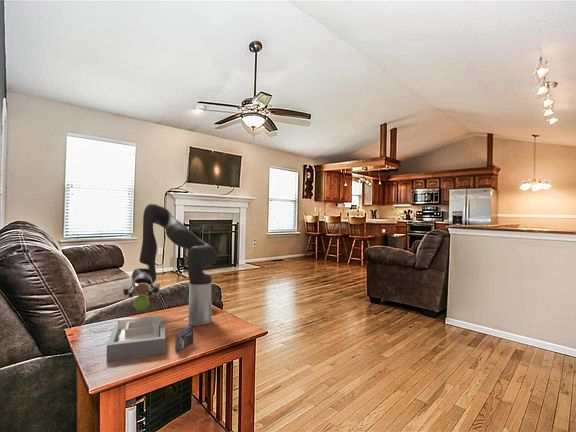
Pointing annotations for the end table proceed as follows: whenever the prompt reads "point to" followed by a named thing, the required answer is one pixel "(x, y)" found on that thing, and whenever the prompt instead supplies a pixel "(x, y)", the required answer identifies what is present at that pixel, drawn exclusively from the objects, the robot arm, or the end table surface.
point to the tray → (139, 327)
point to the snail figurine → (140, 295)
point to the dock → (135, 345)
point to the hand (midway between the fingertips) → (140, 294)
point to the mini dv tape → (184, 339)
